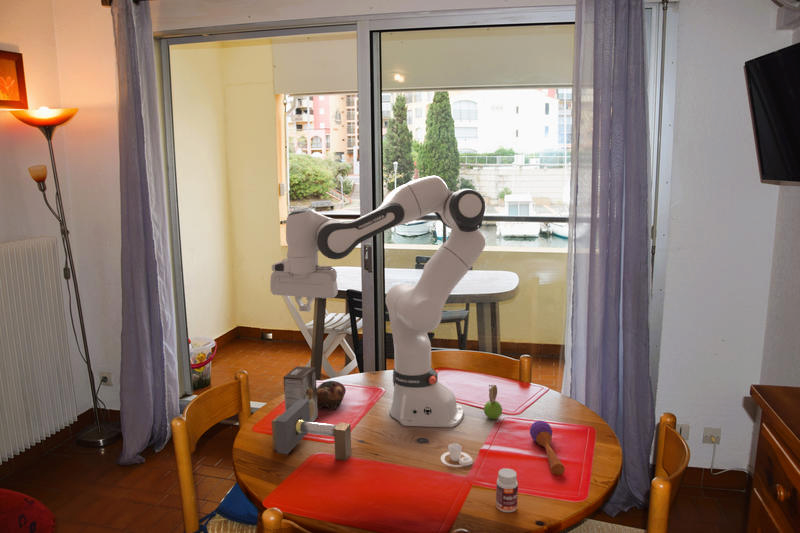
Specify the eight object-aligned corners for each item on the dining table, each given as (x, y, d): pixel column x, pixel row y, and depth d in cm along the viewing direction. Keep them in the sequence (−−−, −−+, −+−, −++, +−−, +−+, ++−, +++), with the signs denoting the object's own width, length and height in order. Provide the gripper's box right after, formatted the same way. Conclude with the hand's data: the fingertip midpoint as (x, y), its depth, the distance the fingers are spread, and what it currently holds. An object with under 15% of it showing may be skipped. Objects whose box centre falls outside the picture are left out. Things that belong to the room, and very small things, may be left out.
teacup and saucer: (477, 467, 150) (477, 452, 149) (447, 472, 147) (448, 457, 147) (464, 450, 158) (464, 436, 157) (436, 455, 156) (436, 441, 155)
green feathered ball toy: (480, 422, 173) (481, 383, 171) (486, 413, 179) (486, 376, 177) (499, 424, 171) (499, 386, 169) (503, 415, 177) (504, 378, 175)
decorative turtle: (307, 414, 180) (305, 389, 179) (324, 397, 194) (323, 374, 193) (336, 415, 177) (335, 390, 176) (352, 398, 192) (350, 375, 191)
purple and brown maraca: (544, 461, 144) (526, 418, 163) (547, 482, 146) (529, 437, 165) (568, 457, 144) (547, 414, 163) (571, 477, 145) (550, 433, 165)
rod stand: (351, 453, 156) (350, 423, 155) (345, 460, 153) (344, 430, 151) (280, 443, 162) (278, 414, 161) (273, 450, 159) (271, 420, 157)
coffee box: (299, 414, 180) (296, 365, 176) (318, 417, 178) (316, 367, 175) (285, 428, 171) (282, 376, 168) (306, 430, 169) (303, 378, 166)
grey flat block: (310, 429, 165) (309, 399, 163) (287, 454, 151) (285, 421, 150) (300, 428, 165) (299, 398, 164) (277, 452, 152) (275, 420, 150)
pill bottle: (504, 515, 129) (504, 480, 128) (491, 503, 133) (492, 470, 132) (521, 509, 131) (522, 475, 130) (509, 498, 135) (509, 465, 134)
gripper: (340, 264, 170) (341, 310, 173) (276, 261, 176) (279, 306, 178) (331, 268, 164) (333, 316, 167) (266, 265, 170) (269, 311, 172)
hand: (305, 310), depth 173 cm, fingers closed
